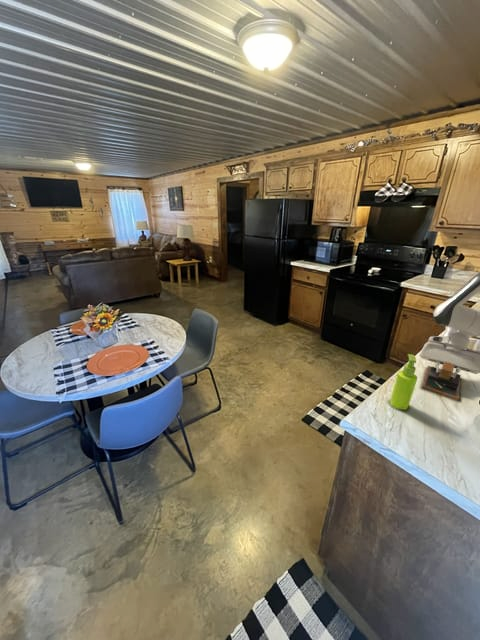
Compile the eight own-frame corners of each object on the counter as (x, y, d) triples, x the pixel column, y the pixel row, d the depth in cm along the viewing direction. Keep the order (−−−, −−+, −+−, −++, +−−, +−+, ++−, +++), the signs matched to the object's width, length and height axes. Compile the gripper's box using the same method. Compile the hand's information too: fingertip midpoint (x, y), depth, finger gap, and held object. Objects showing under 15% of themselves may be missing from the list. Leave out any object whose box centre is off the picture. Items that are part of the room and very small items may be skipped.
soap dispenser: (406, 400, 101) (420, 355, 93) (408, 411, 95) (424, 364, 87) (389, 395, 103) (401, 351, 95) (390, 406, 97) (403, 360, 89)
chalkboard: (427, 367, 122) (427, 365, 122) (459, 377, 115) (460, 375, 115) (421, 388, 108) (422, 386, 107) (458, 400, 101) (459, 398, 100)
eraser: (459, 378, 109) (465, 366, 103) (456, 387, 106) (463, 376, 101) (430, 369, 114) (434, 357, 109) (427, 378, 112) (431, 367, 106)
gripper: (484, 355, 106) (476, 387, 103) (424, 341, 118) (415, 368, 115) (488, 350, 101) (480, 383, 98) (426, 335, 113) (416, 364, 110)
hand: (445, 375), depth 107 cm, fingers closed on eraser, 3 cm apart
